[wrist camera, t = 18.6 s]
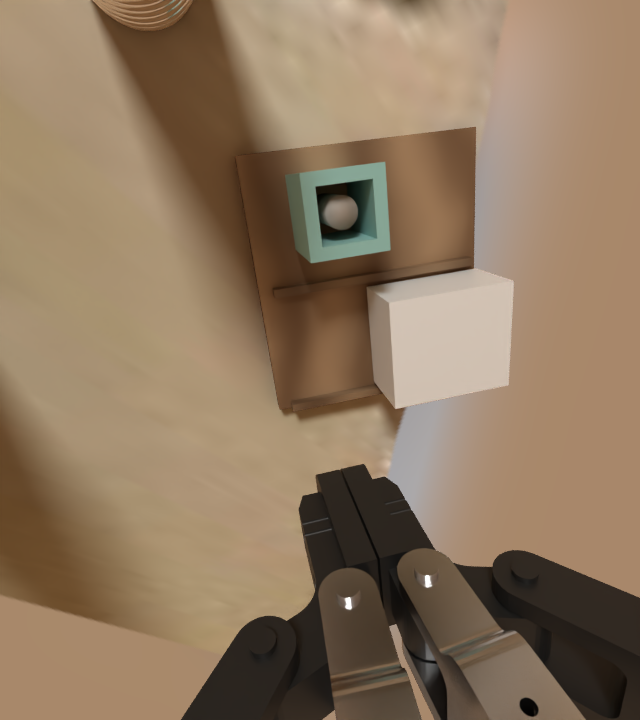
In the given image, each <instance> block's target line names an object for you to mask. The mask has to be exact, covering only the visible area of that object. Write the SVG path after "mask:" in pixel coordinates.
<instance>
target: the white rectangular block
mask: <svg viewBox="0 0 640 720" xmlns="http://www.w3.org/2000/svg"><path fill="white" fill-rule="evenodd" d="M366 288H367V300H368V313H369V326H370V338H371V351H372V364H373V376H374V382H375V383H376V385H377V386H378V387H379V389H380V390H381V391H382V392H383V394H384V395H385V396H386V398H387V399H388V400H389V401H390V403H391V404H392V405H393V407H394V408H395V409H399V408H403V407H408V406H412V405H417V404H422V403H426V402H431V401H435V400H441V399H446V398H450V397H455V396H459V395H464V394H469V393H474V392H478V391H483V390H488V389H493V388H497V387H502V386H507V385H509V366H510V347H511V327H512V326H511V325H512V306H513V288H514V281H512V280H510V279H506V278H503V277H500V276H498V275H495V274H492V273H489V272H486V271H482V270H480V269H476V268H474V269H469V270H463V271H457V272H451V273H445V274H439V275H433V276H427V277H421V278H415V279H410V280H404V281H398V282H392V283H386V284H380V285H374V286H368V287H366Z"/></svg>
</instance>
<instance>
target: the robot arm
mask: <svg viewBox="0 0 640 720" xmlns="http://www.w3.org/2000/svg"><path fill="white" fill-rule="evenodd" d="M316 483H317V490H318V493H313V494H309V495H305V496H303V497H302V500H301V503H300V507H299V514H300V520H301V526H302V532H303V538H304V543H305V549H306V553H307V557H308V562H309V566H310V570H311V574H312V579H313V583H314V587H315V593H314V596H313V598H312V600H311V602H310V603H309V604H308V605H307V607H306V608H305V609H304V610H303V611H301V612H300V613H298V614H297V615H295V616H294V617H292V618H291V619H289V620H288V621H285V620H284V619H282V618H280V617H276V616H264V617H259V618H257V619H254V620H253V621H251V622H249V623H248V624H246V625H245V626H244V627H243V628H242V629H241V630H240V631H239V633H238V634H237V635H236V637H235V638H234V640H233V642H232V643H231V645H230V646H229V648H228V649H227V651H226V652H225V654H224V655H223V657H222V658H221V660H220V661H219V663H218V665H217V666H216V667H215V669H214V670H213V672H212V673H211V675H210V677H209V678H208V679H207V681H206V683H205V684H204V686H203V687H202V689H201V690H200V692H199V693H198V695H197V696H196V698H195V699H194V701H193V702H192V704H191V705H190V707H189V708H188V710H187V711H186V713H185V714H184V716H183V717H182V719H181V720H322V719H323V718H325V717H326V716H327V715H328V714H330V713H331V712H332V711H334V710H335V714H336V720H422V719H421V715H420V712H419V709H418V706H417V703H416V699H415V696H414V693H413V689H412V686H411V683H410V680H409V677H408V674H407V672H406V670H405V668H402V667H401V664H400V662H399V658H398V655H397V652H396V649H395V645H394V642H393V638H392V635H391V631H390V628H389V626H391V625H394V624H397V626H398V629H399V631H400V634H401V637H402V648H403V654H404V656H405V659H406V661H407V663H408V665H409V667H410V669H411V671H412V673H413V675H414V678H415V680H416V682H417V684H418V686H419V688H420V690H421V692H422V694H423V697H424V699H425V701H426V703H427V705H428V707H429V709H430V711H431V713H432V715H433V717H434V720H640V598H639V597H636V596H634V595H631V594H629V593H627V592H624V591H622V590H619V589H617V588H615V587H612V586H610V585H608V584H605V583H603V582H600V581H598V580H595V579H593V578H591V577H588V576H586V575H583V574H581V573H579V572H576V571H574V570H571V569H569V568H566V567H564V566H562V565H559V564H557V563H555V562H552V561H549V560H547V559H545V558H542V557H540V556H538V555H535V554H533V553H529V552H526V551H519V550H515V551H514V550H512V551H507V552H504V553H502V554H500V555H499V556H498V557H497V558H496V559H495V560H494V563H493V567H471V566H463V565H458V564H455V563H453V562H452V561H451V560H450V559H449V558H448V557H447V556H446V555H444V554H443V553H441V552H439V551H436V550H435V548H434V547H433V545H432V544H431V542H430V540H429V538H428V537H427V535H426V533H425V532H424V530H423V529H422V527H421V525H420V523H419V522H418V520H417V518H416V517H415V515H414V513H413V511H411V508H410V506H409V504H408V503H407V501H406V500H405V498H404V496H403V494H402V493H401V491H400V489H399V488H398V486H397V485H396V484H394V483H393V482H391V481H390V480H389V479H387V478H386V477H381V478H377V479H373V480H372V478H371V476H370V474H369V472H368V470H367V468H366V466H365V465H364V464H361V465H357V466H352V467H348V468H344V469H340V470H335V471H331V472H327V473H322V474H318V475H316Z"/></svg>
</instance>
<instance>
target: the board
mask: <svg viewBox="0 0 640 720" xmlns="http://www.w3.org/2000/svg"><path fill="white" fill-rule="evenodd" d="M475 156H476V127H471V128H463V129H454V130H446V131H438V132H429V133H421V134H413V135H405V136H396V137H388V138H380V139H371V140H363V141H355V142H346V143H338V144H330V145H321V146H313V147H305V148H297V149H288V150H280V151H272V152H263V153H255V154H247V155H238V156H235V160H236V166H237V171H238V177H239V183H240V189H241V194H242V200H243V206H244V211H245V217H246V223H247V229H248V234H249V240H250V246H251V251H252V257H253V263H254V269H255V274H256V280H257V286H258V291H259V297H260V303H261V309H262V314H263V320H264V326H265V331H266V337H267V343H268V349H269V354H270V360H271V366H272V371H273V377H274V383H275V389H276V394H277V400H278V405H279V409H280V410H281V409H286V408H291V407H292V409H293V412H295V411H300V410H305V409H310V408H314V407H319V406H324V405H329V404H334V403H339V402H344V401H348V400H353V399H358V398H363V397H368V396H373V395H378V394H382V393H383V392H382V391H381V390H380V389H379V387H378V386H377V385H376V383H375V382H374V376H373V364H372V351H371V338H370V326H369V313H368V300H367V288H366V287H368V286H374V285H380V284H386V283H392V282H398V281H404V280H410V279H415V278H421V277H427V276H433V275H439V274H445V273H451V272H457V271H463V270H469V269H474V220H475V219H474V218H475ZM379 162H385V166H386V182H387V199H388V215H389V231H390V248H391V250H389V251H383V252H377V253H371V254H365V255H359V256H353V257H347V258H341V259H335V260H329V261H323V262H316V263H310V262H309V261H308V260H307V259H306V258H304V257H303V256H302V255H301V254H300V253H299V252H298V251H297V250H296V249H295V242H294V235H293V228H292V221H291V214H290V207H289V200H288V193H287V186H286V179H285V175H288V174H296V173H303V172H311V171H318V170H326V169H333V168H340V167H348V166H355V165H363V164H371V163H379ZM315 189H316V198H317V206H318V214H319V223H320V231H321V234H325V233H332V232H338V231H345V230H351V226H352V225H353V224H354V223H355V221H356V219H357V216H358V208H357V205H356V203H355V201H354V200H353V199H352V198H350V197H349V196H348V194H347V184H346V182H345V183H338V184H331V185H324V186H316V187H315Z"/></svg>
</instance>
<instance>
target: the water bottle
mask: <svg viewBox="0 0 640 720" xmlns="http://www.w3.org/2000/svg"><path fill="white" fill-rule="evenodd" d="M93 1H94V2H95V3H96V5H97V6H98V7H99V8H100V9H101V10H103V11H104V12H105V13H106V14H107V15H109V16H110V17H111V18H113V19H114V20H116V21H117V22H119V23H121V24H123V25H125V26H127V27H130V28H133V29H136V30H141V31H157V30H161V29H165V28H167V27H169V26H171V25H173V24H175V23H176V22H177V21H179V20H180V19H181V18H182V17H183V16H184V15H185V13H186V12H187V11H188V9H189V8H190V6H191V4H192V2H193V0H93Z"/></svg>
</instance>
